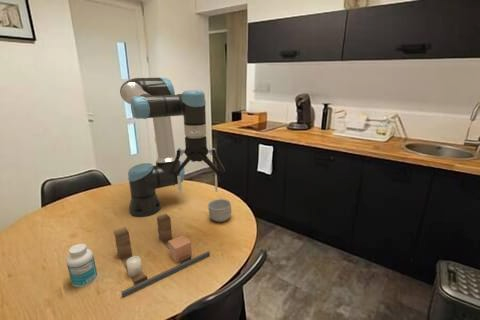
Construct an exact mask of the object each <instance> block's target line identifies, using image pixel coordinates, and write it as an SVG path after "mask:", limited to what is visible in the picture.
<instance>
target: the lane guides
mask: <svg viewBox="0 0 480 320" xmlns="http://www.w3.org/2000/svg"><path fill="white" fill-rule="evenodd" d="M210 256H211V253H210V251H209V250H208V251H205V252H204V253H201V254H200V255H197V256H194V257H193V258H191V259H190V260H188V261H186V262H184V263H182V264H180V263H179V264H178V265H176V266H173V267H172V268H169V269H167V270H165V271H163V272H161V273H159V274H157V275H154V276H152V277H150V278H147V280H145V281H143V282H141V283H139V284H137V285H132V286H130V287H128V288H126V289H124V290H122V291H120V292H121V296H122V298H126V297H127V296H129V295H132V294H134V293H136V292H138V291H140V290H142V289H144V288H146V287H149V286H150V285H152V284H155V283H157V282H159V281H160V280H163V279H165V278H167V277H170V276H172V275H173V274H176V273H177V272H179V271H182V270H184V269H185V268H188V267H190V266H192V265H195V264H197V263H199V262H201V261H202V260H205V259H207V258H209V257H210Z"/></svg>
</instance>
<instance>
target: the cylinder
mask: <svg viewBox="0 0 480 320" xmlns="http://www.w3.org/2000/svg"><path fill="white" fill-rule="evenodd" d="M126 263H127V269H128V272H127V273H128V274H127V276H128V277H129V278H131V277H137V276H139V275H140V274H141V273H142V272H143V267H142V265H143V264H142V258H141V257H140V256H139V255H132V257H130V258H129V259H127V261H126Z"/></svg>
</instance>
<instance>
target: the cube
mask: <svg viewBox="0 0 480 320" xmlns="http://www.w3.org/2000/svg"><path fill="white" fill-rule="evenodd" d="M168 244H169V249H168V252H169V253H168V254H169V256H170V257H171V259H172V260H173V261H174V262H175V263H176V264H178V263H179V262H180V259H181V258H184V257H186V256H188V255H190V256H191V257H193V256H192V255H193V254H192V243H191V241H190V240H189V239H188V238H187V237H186V236H185V235H184V234H182V235H180V236H177V237H175V238H172V240H169V241H168Z"/></svg>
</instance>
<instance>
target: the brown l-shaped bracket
mask: <svg viewBox="0 0 480 320" xmlns="http://www.w3.org/2000/svg"><path fill="white" fill-rule="evenodd" d="M113 233H114V238H115V245H116V250H117V252H116V253H117V255H118V257H119V259H120V260H121V263H122V264H123V266H124V269H125V270H126V272H127V273H128V269H127V263H126V261H127V259H129V258H130V257H132V256H133V252H132V251H133V250H132V246H131V239H130V231H129V230H128V229H127V227H126V226H125V227H122V228H119V229H118V228H117V229H116V230H115V229H114V230H113ZM130 279H131V281H132V283H133V286H135V285H137V284H139V283H141V282H143V281H145V280H147V279H148V276H147V274H144V272H143V271H142V273H141V274H140V275H139V276H137V277H130Z"/></svg>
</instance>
